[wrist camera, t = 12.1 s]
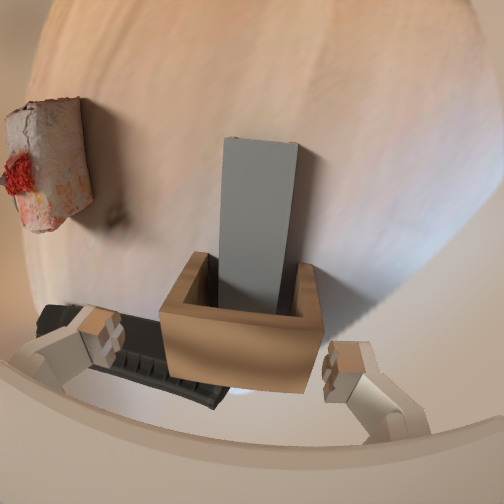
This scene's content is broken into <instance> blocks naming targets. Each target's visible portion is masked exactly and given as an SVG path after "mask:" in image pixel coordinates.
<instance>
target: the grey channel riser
mask: <svg viewBox="0 0 504 504" xmlns="http://www.w3.org/2000/svg"><path fill="white" fill-rule="evenodd" d="M297 151H298V144H297V143H296V142H289V143H282V142H272V141H262V140H249V139H237V137H227V138H224V149H223V167H222V187H221V210H220V237H219V276H218V308H221V309H229V310H237V311H245V312H254V313H262V314H272V315H276V309H277V302H278V296H279V289H280V283H281V276H282V269H283V262H284V255H285V248H286V241H287V234H288V226H289V218H290V211H291V203H292V195H293V186H294V178H295V169H296V161H297Z"/></svg>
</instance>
